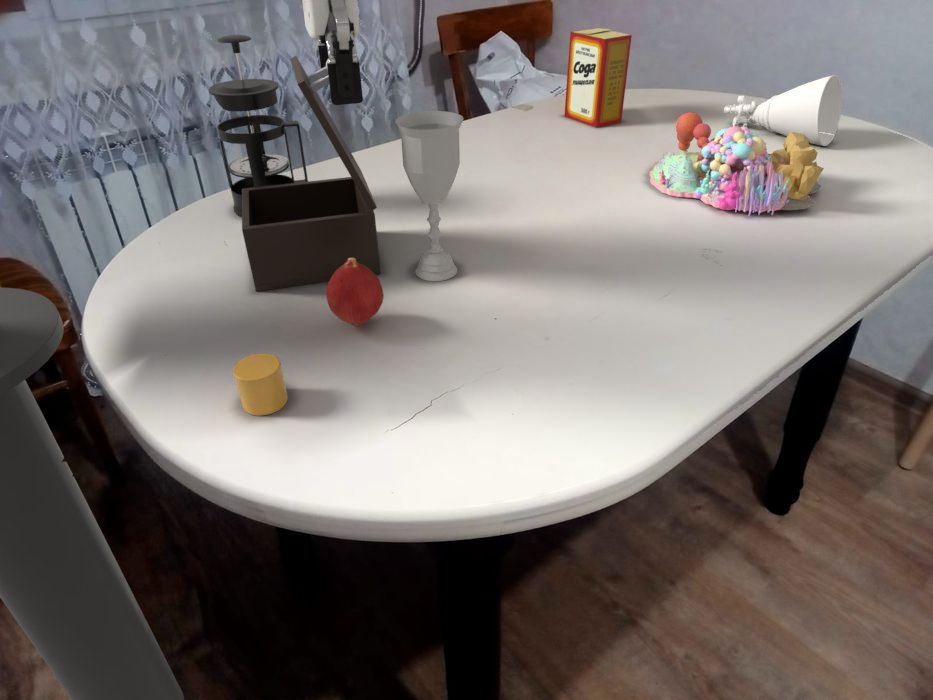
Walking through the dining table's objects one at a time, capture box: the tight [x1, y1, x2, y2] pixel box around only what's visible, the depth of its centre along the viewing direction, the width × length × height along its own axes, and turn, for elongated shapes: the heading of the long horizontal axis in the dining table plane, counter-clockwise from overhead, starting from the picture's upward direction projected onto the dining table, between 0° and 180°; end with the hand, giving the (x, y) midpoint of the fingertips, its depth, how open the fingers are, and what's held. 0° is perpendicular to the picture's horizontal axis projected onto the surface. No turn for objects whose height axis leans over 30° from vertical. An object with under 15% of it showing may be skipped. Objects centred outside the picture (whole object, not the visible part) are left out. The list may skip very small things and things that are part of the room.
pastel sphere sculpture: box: [649, 111, 824, 217], centre depth 98 cm, size 25×24×9 cm
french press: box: [208, 34, 309, 218], centre depth 90 cm, size 12×9×23 cm
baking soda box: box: [563, 27, 632, 129], centre depth 127 cm, size 10×6×16 cm
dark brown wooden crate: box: [241, 176, 381, 292], centre depth 80 cm, size 15×13×8 cm
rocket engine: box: [723, 74, 843, 147], centre depth 120 cm, size 12×12×18 cm
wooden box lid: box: [290, 55, 378, 211], centre depth 75 cm, size 15×13×5 cm
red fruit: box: [325, 258, 385, 327], centre depth 68 cm, size 6×6×8 cm
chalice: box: [394, 110, 465, 282], centre depth 75 cm, size 7×7×18 cm
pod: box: [232, 352, 289, 416], centre depth 59 cm, size 4×4×4 cm
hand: (341, 92), depth 73 cm, fingers open, 9 cm apart
